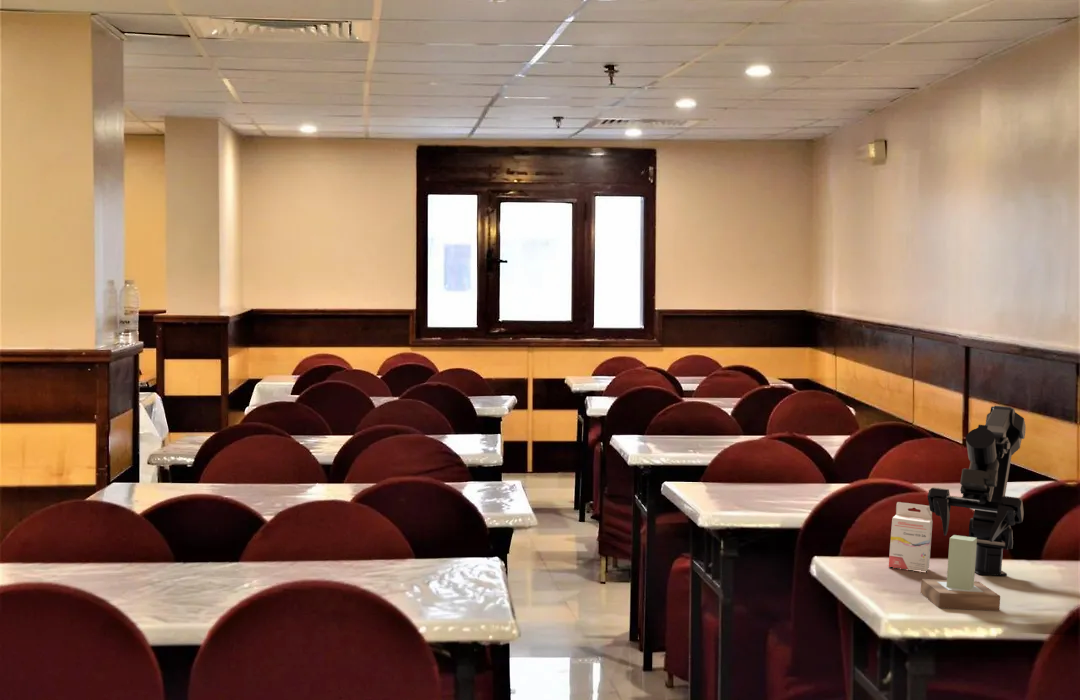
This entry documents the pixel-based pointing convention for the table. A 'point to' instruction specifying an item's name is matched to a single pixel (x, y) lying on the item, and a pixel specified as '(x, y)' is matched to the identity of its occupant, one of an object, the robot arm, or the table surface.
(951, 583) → the sage pillar
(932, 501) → the robot arm
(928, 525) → the ink cartridge box
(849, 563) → the table surface
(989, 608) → the walnut base plate
